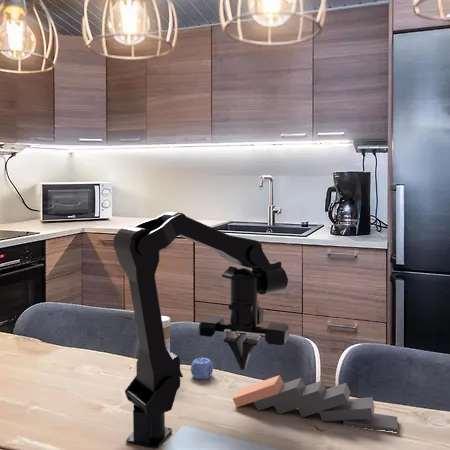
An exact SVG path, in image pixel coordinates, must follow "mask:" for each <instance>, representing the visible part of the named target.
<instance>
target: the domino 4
mask: <svg viewBox="0 0 450 450" xmlns="http://www.w3.org/2000/svg"><path fill="white" fill-rule="evenodd" d="M350 395H351V390H350V388H349V386H348V383H347V382H344V383H341V384H338V385H335V386H332V387H329V388H327V389H326V391H325V394H324V397H323V400H321V401H318V402H315V403H312V404H309V405H306V406H303V407H300V408H297V409H298V411H299V414H300V416H301V417H302V418H304V417H308V416H310V415H313V414H316V413H320V411H323V410H326V409H330V408H333V407H336V406H339V405H342V404H345V403H348V400H349V399H350Z"/></svg>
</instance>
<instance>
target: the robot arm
mask: <svg viewBox="0 0 450 450" xmlns="http://www.w3.org/2000/svg"><path fill="white" fill-rule="evenodd" d="M177 237H180V238H182V239H186V240H188V241H190V242H192V243H196V244H198V245H200V246H203V247H205V248H207V249H211V250H212V251H215V252H216V253H218V255H219V256H220V257H221V258H223V260H225V261H227V262H228V263H230V264H232V265H237V266H241V267H243V268H237V267H235V266H231V265H230V266H228V268H227V269H226V270H225V271H224V272H223V273H222V274H221V277H222V278H224V279H227V280H230V291H229V292H230V301H229V304H228V310H230V312H229V314H230V316H229V317H230V318H229V320H230V321H229V323H228V322H227V323H225V320H224V318H223V317H221V316H220V317H219V316H209V315H208V316H207V317H206V318H204V319H203V320H202V321H200V322H199V323H198V330H197V331H198V335H199V336H201V337H209V338H211V337H213V336H214V335H215V334H216V332H219V333H220V332H222V333H224V338H223V342H224V343H227V345H228V346H229V348H230V350H231V351H232V354H233V355H234V357H235V360H236V362H237V364H238V366H239V369H240V370H242V371H245V370H246V369H247V365H248V363H249V360H250V356H251V354H252V351H253V349H254V347H257V346H258V345H259V343H260V342H261V341H262V340H263V337H264V340H265V342H266V343H267V344H268V345H276V346H284V345H286V342H287V341H288V340H289V338H290V327H289V326H288V324H285V323H275V322H270V324H269V325H268V326H267V327H265V326H258V325H260V324H261V323H263V322H264V321H263V318H264V312H265V311H264V308H263V307H261V306H260V303H259V299H258V294H259V295H266V294H267V295H268V294H272V293H278V292H282V291H284V290H285V289H287V286H288V283H289V277H288V274H287V273H286V270H285V269H284V268H283V267H282V262H281V261H278V260H270V261H269V259H268V258H267V256H266V254H265V253H264V249H263V247H262V246H263V245H262V242H260V241H258V240H256V239H252V238H245V237H240V236H235V235H230V234H227V233H225V232H223V231H220V230H218V229H216V228H214V227H212V226H210V225H207V224H205V223H202V222H199V221H198V220H195V219H193V218H191V217H189V216H187V215H186V214H184V213H182V212H178V211H177V212H176V211H175V212H174V211H167V212H166V211H165V213H162V214H161V215H159V216H157V217H154V218H151V219H148V220H146V221H145V220H144V221H143V222H140V223H137V224H136V225H134V226H133V225H132V226H131V225H129V226H123V227H121V228H120V229H119V230H118V231H117V233H116V234H115V235H114V237H113V248H114V249H113V250H114V252H115V255H116V256H117V259H118V262H119V264H120V266H121V268H122V270H123V272H124V273H125V275H126V276H127V279H128V284H129V290H130V295H131V301H132V306H133V307H132V308H133V313H134V319H135V326H136V331H137V338H138V343H139V351H140V352H139V355H138V357H137V361H136V375H135V376H134V378H133V379H132V381H131V382H130V383H129V385H128V386H127V388H125V390H124V395H125V398H127V399H126V400H127V401H129V402H131V404H133V409H132V419H133V421H132V426H133V427H132V428H133V429H132V430H133V431H132V432H131V434H129V435H128V436H127V437H126V438H125V442H126V443H129V444H132V445H133V444H134V445H138V446H144V447H149V448H153V449H157V448H159V447H161V445H162V444H163V442H164V441H165V440H166V439H167V437H169V435H170V434H171V433H172V432H173V428H171V427H167V426H166V424H165V423H166V415H165V414H166V413H167V412H170V411H171V410H172V409H173V406H174V402H175V399H176V395H177V392H178V390H179V389H180V387H181V378H183V377H184V375H183V373H182V371H181V359H180V356H179V355H177V354H175V353H173V352H171V350H170V351H168V350H167V348H166V343H165V337H164V331H163V324H162V318H161V316H162V312H161V307H160V300H159V294H158V288H157V282H156V273H157V270H158V267H159V263H160V251H161V250H164V249H165V248H166V247H168V246H169V245H170V244H172V242H174V240H175V239H176V238H177ZM248 268H249V269H248ZM250 269H251V270H250ZM245 337H246V338H245ZM244 338H245V339H244Z"/></svg>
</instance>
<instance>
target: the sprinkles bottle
mask: <svg viewBox="0 0 450 450" xmlns="http://www.w3.org/2000/svg"><path fill="white" fill-rule="evenodd" d="M161 318H162V324H163V331H164V337H165V343H166V348H167V350H168V351H170V352H171V337H170V335H171V334H170V328H171V318H170V317H169V316H166V315H161Z"/></svg>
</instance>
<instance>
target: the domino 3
mask: <svg viewBox="0 0 450 450" xmlns="http://www.w3.org/2000/svg"><path fill="white" fill-rule="evenodd" d="M325 391H326V387H325V383H324V382H323V380H320V381H317V382H314V383H311V384H308V385H305V388H304V390H303V392H302V395H301V397H298V398H295V399H292V400H289V401H286V402H283V403H280V404H277V405H274V406H273V407H274V408H275V410H276V412H277V414H278V415H281V414H283V413H287V412H290V411H293V410H297V409H298V408H300V407H303V406H306V405H309V404H312V403H315V402H318V401H321V400H323V397H324V394H325Z"/></svg>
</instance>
